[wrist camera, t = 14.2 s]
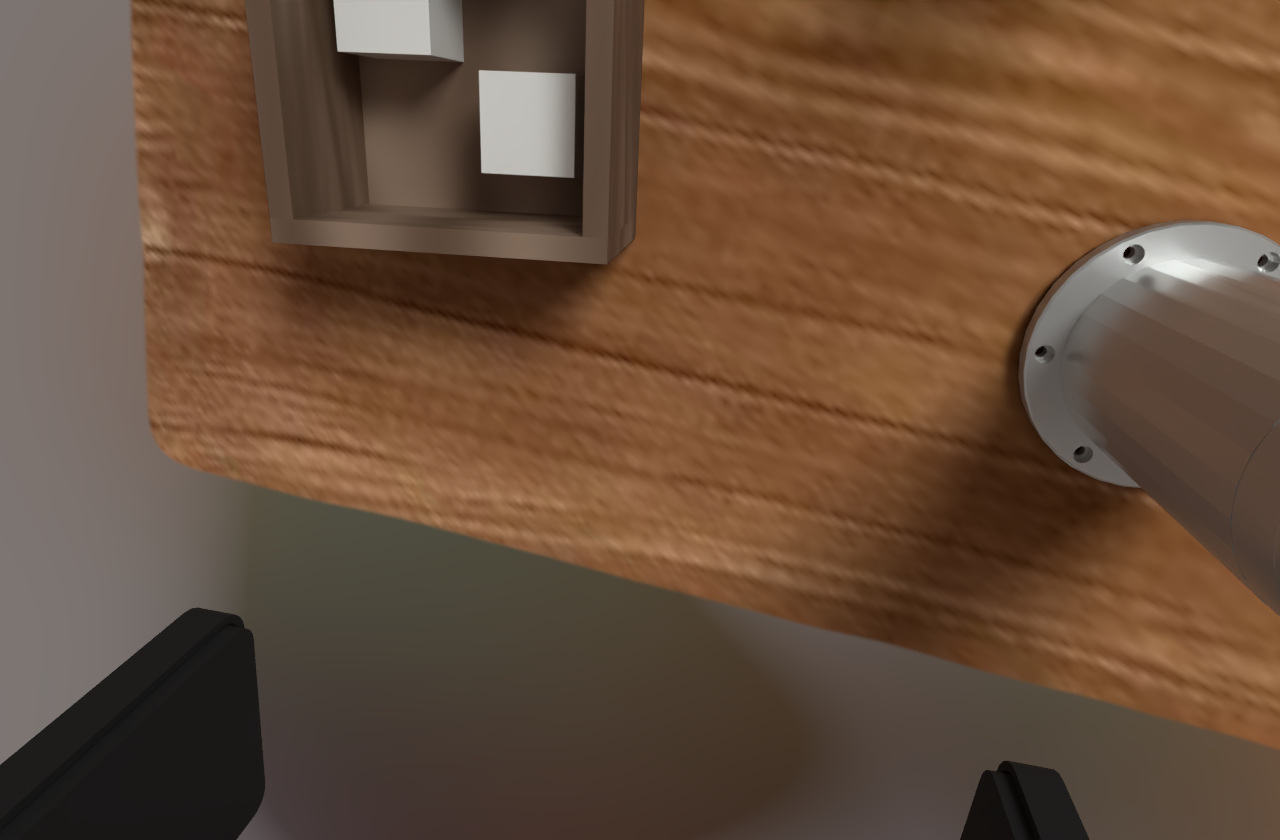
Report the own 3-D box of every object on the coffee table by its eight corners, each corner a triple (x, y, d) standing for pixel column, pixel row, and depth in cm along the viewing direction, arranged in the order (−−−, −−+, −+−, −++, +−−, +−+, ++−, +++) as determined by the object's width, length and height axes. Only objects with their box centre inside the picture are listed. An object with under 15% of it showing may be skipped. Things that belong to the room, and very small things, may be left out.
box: (647, -96, 34) (618, -158, 27) (635, 237, 39) (606, 264, 32) (336, -101, 36) (226, -161, 28) (360, 221, 41) (272, 242, 33)
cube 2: (594, 79, 36) (575, 74, 32) (591, 172, 37) (574, 177, 34) (506, 75, 36) (478, 70, 33) (508, 168, 38) (481, 172, 34)
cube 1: (460, -38, 35) (425, -58, 31) (463, 62, 36) (430, 55, 33) (373, -41, 36) (328, -60, 32) (379, 59, 37) (337, 51, 33)
